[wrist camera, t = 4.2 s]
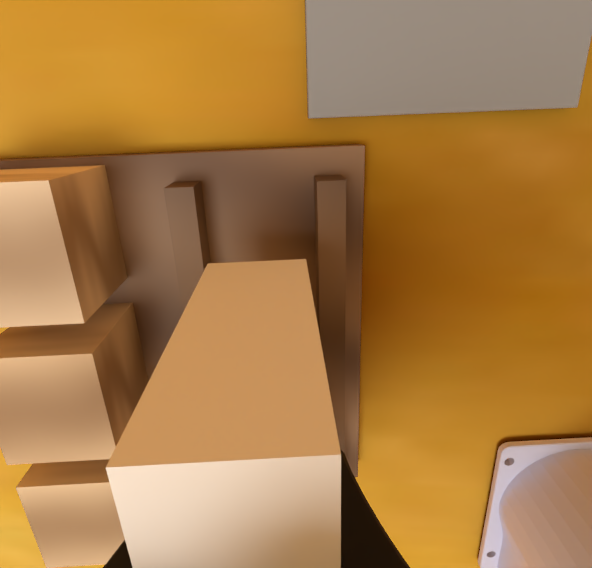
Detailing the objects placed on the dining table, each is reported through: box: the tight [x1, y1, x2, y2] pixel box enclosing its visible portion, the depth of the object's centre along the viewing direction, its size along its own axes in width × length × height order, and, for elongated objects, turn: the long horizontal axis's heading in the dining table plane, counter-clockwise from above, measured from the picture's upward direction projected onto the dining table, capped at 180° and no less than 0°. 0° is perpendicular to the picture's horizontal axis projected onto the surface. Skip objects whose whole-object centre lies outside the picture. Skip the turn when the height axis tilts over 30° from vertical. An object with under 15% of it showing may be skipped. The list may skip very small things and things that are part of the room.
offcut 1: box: [0, 165, 127, 327], centre depth 14 cm, size 4×4×4 cm
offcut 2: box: [16, 459, 125, 568], centre depth 18 cm, size 4×4×4 cm
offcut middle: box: [0, 303, 148, 465], centre depth 16 cm, size 4×4×4 cm
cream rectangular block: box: [106, 259, 341, 568], centre depth 11 cm, size 10×3×8 cm, turn 2°
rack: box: [0, 144, 365, 477], centre depth 18 cm, size 16×14×2 cm
